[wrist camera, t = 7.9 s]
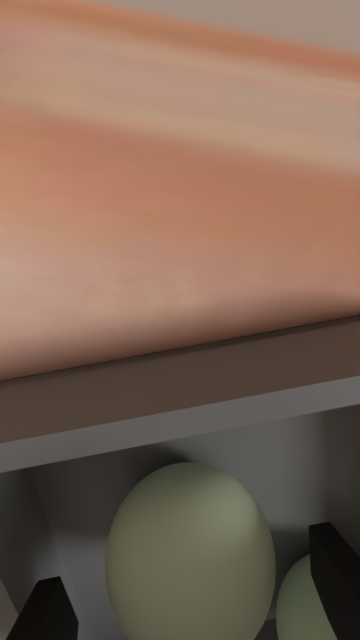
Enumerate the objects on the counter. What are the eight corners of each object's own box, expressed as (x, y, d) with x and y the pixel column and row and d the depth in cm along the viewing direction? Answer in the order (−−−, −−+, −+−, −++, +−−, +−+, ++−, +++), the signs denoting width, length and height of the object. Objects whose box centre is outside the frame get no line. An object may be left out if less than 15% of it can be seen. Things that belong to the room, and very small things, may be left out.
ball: (369, 590, 15) (468, 761, 11) (263, 612, 15) (314, 795, 10) (373, 509, 14) (491, 668, 9) (253, 533, 13) (309, 708, 9)
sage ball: (250, 522, 13) (310, 692, 9) (126, 549, 13) (119, 741, 8) (239, 418, 12) (306, 556, 7) (98, 445, 11) (69, 610, 7)
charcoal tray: (390, 592, 16) (451, 690, 13) (89, 655, 16) (73, 773, 12) (411, 305, 11) (518, 345, 8) (-22, 385, 11) (-97, 461, 8)
